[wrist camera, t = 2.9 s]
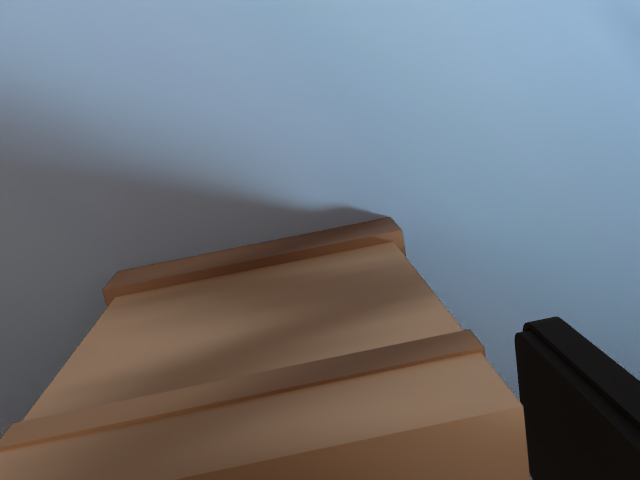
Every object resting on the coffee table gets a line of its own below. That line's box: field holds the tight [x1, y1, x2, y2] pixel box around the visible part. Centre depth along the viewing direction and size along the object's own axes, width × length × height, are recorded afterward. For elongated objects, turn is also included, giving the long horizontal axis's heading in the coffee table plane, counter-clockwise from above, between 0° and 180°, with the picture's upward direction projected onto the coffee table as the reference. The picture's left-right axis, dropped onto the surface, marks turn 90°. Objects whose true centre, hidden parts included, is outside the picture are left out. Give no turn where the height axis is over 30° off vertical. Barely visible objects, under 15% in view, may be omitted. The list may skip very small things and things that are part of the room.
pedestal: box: [0, 217, 530, 480], centre depth 10 cm, size 6×6×7 cm
